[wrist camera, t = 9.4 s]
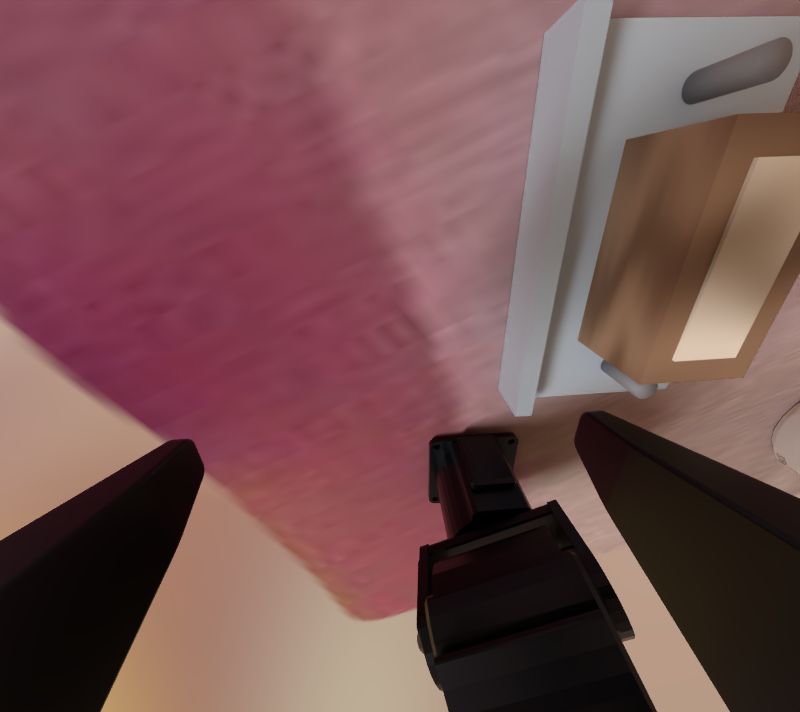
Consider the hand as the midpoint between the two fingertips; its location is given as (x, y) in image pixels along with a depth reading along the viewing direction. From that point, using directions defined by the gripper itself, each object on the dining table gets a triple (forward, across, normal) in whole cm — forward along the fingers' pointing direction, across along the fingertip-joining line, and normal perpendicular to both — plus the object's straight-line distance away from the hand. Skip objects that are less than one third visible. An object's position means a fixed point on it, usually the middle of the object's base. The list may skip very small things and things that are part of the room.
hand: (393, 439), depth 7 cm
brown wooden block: (+11, -14, -2) cm, 18 cm away
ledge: (+12, -14, -2) cm, 18 cm away
